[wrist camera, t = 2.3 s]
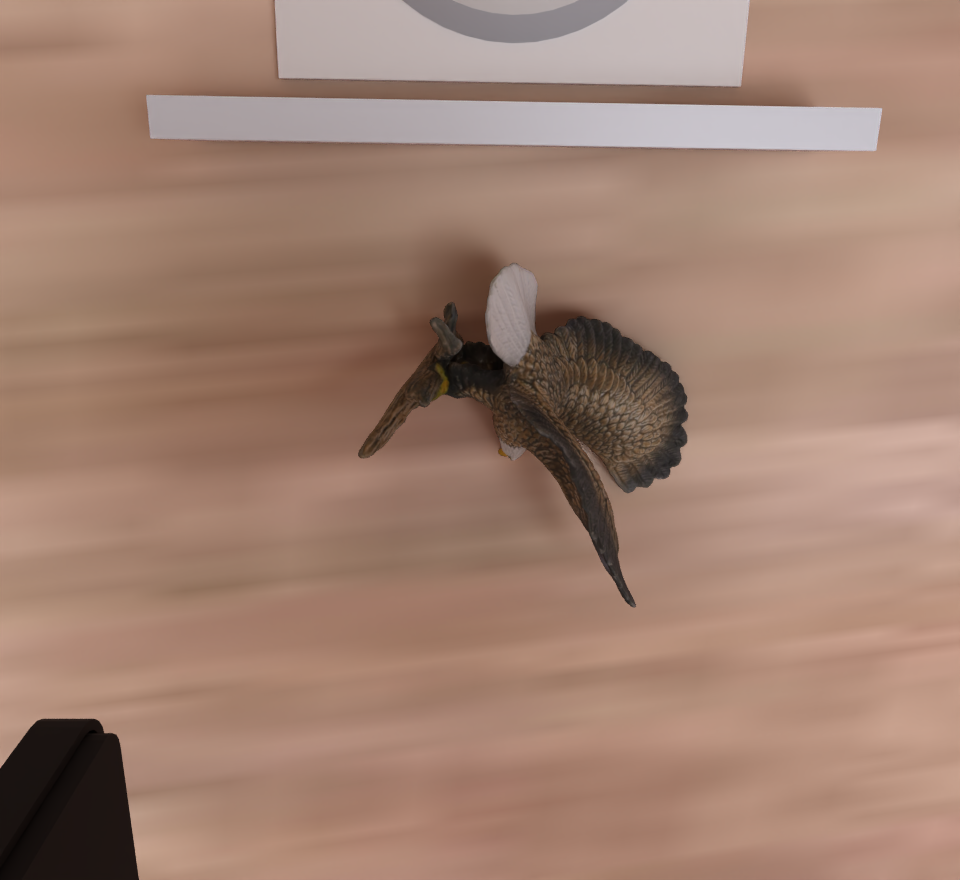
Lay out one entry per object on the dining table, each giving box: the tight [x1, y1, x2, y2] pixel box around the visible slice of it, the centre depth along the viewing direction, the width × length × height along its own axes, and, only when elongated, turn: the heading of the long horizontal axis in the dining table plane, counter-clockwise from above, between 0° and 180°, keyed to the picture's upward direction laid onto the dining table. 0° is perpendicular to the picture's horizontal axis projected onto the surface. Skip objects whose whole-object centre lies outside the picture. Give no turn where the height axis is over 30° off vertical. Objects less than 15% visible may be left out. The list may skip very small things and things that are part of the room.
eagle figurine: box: [358, 263, 688, 608], centre depth 25 cm, size 8×7×9 cm
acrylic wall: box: [146, 95, 882, 151], centre depth 23 cm, size 18×1×4 cm, turn 89°
